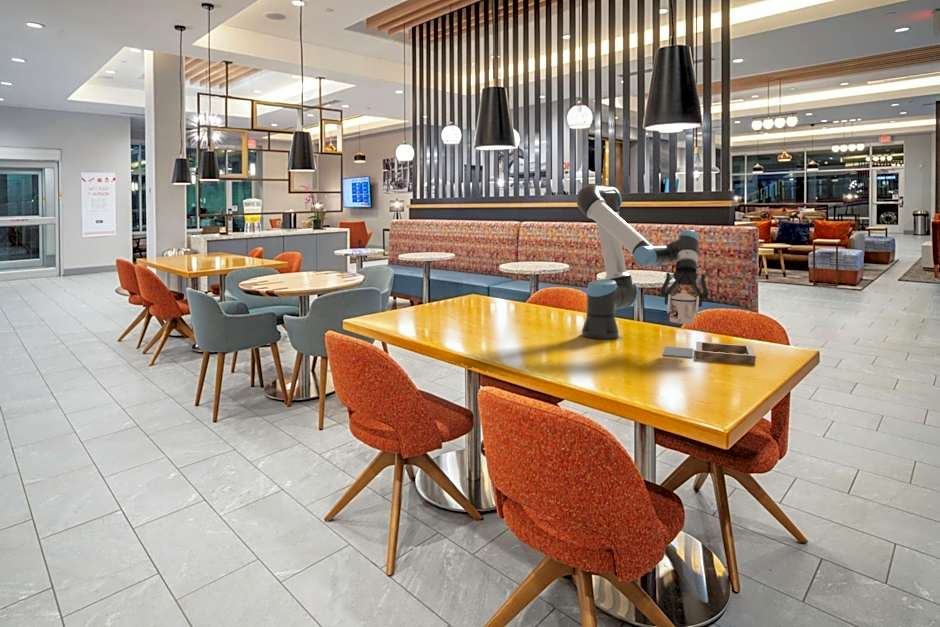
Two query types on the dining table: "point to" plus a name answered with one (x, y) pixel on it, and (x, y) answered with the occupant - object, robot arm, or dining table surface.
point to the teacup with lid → (682, 308)
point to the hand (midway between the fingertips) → (682, 311)
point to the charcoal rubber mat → (678, 352)
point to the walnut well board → (706, 347)
